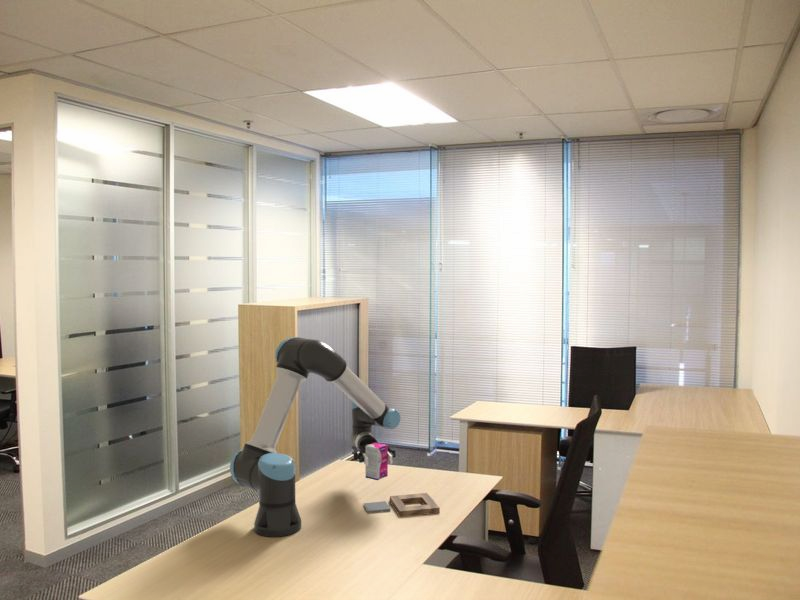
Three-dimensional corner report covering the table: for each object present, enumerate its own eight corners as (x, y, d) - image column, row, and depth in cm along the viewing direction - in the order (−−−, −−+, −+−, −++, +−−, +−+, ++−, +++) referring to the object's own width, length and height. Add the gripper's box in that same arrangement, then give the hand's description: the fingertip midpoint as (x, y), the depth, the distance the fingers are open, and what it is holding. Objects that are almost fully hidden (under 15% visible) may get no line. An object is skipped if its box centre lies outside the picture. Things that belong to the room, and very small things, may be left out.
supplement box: (378, 480, 240) (377, 448, 240) (365, 477, 244) (364, 445, 243) (388, 476, 245) (387, 444, 244) (375, 473, 249) (374, 441, 248)
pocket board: (400, 516, 237) (400, 511, 237) (389, 501, 252) (389, 496, 252) (439, 512, 240) (439, 507, 240) (426, 497, 256) (426, 492, 255)
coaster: (367, 513, 240) (367, 510, 240) (363, 505, 248) (363, 503, 248) (390, 511, 242) (390, 508, 242) (385, 503, 250) (385, 501, 250)
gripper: (393, 452, 264) (408, 469, 242) (339, 456, 259) (349, 474, 237) (393, 432, 264) (408, 448, 242) (339, 436, 259) (349, 452, 237)
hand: (379, 461), depth 240 cm, fingers closed on supplement box, 8 cm apart
